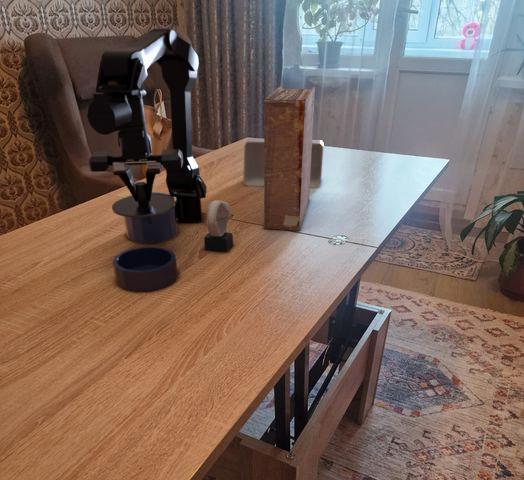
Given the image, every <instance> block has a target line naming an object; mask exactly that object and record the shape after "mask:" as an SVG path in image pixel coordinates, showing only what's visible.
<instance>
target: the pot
mask: <svg viewBox="0 0 524 480" xmlns="http://www.w3.org/2000/svg"><path fill="white" fill-rule="evenodd" d="M152 194H158V195H164V196H168V197H171V198H172V199H174V201H176V200H175V197H173V196H171V195H170V194H169V193H166V192H158V191H157V192H156V191H152ZM130 196H132V195H131V194H130V195H128V196H127V197H130ZM122 217H123V222H124V227H125V233H126V237H127V238H128V239H129V240H130V241H132V242H135V243H139V244H157V243H162V242H166V241H169V240H171V239H174V238H175V237H176V236H177V235H178V233H179V232H178V230H179V229H178V221H177V220H178V218H176V209H175V207H174V208H173V209H172V210H170V211H168V212H166V213H164V214H160V215H156V216H151V217H140V218H135V217H124V216H122Z"/></svg>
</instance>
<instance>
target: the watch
mask: <svg viewBox="0 0 524 480" xmlns="http://www.w3.org/2000/svg"><path fill="white" fill-rule="evenodd" d="M231 213H232V207H231V205H230V204H228V203H227V202H226V201H224V200H220V199H216V200H211V201H210V203H209V205H208V207H207V213H206V217H207V218H206V226H207V230H208V233H206V235H205V236H204V237H203V241H204V242H203V243H204V250H205V251H213V252H221V253H228V252H229V250H230V249H232V247H233V246H234V239H233V237H234V235H233V232H227V231H226V230H227V226H228V221H229V220H230V216H231Z"/></svg>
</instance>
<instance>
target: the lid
mask: <svg viewBox="0 0 524 480" xmlns="http://www.w3.org/2000/svg"><path fill="white" fill-rule="evenodd" d="M135 187H136V194H137V200H138V202H136V201H135V200H134V198H133V196H131V195H129V196H130V197H128V196H125V197H123V198H120V199H118V200H117V201H115V202H114V203H113V204H112V206H111V210H112V212H113V213H114V214H116V215H118V216H121V217H123V216H124V217H135V218H140V217H151V216H156V215H160V214H164V213H166V212H168V211H170V210H172V209H173V208H174V207H175V201H176V200H175V198H174V199H172V198H171V197H168V196H164V195H158V194H152V195H151V200H150V201H148V197H147V185H146V181H138V182H135ZM174 200H175V201H174ZM124 217H123V218H124Z"/></svg>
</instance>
